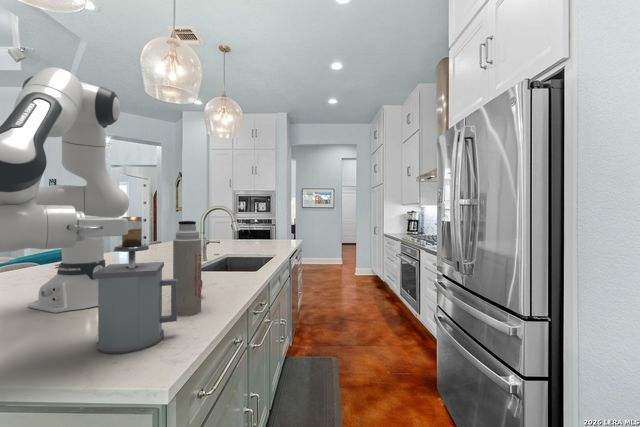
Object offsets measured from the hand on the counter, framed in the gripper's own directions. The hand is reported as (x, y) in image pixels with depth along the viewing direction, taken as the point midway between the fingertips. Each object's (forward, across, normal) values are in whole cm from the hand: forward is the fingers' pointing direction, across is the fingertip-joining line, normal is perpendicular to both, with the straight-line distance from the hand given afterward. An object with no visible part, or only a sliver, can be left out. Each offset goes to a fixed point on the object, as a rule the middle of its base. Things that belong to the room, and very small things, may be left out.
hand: (136, 224), depth 75 cm
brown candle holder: (-1, 0, +17) cm, 17 cm away
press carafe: (0, -1, +28) cm, 28 cm away
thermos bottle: (+18, +11, +28) cm, 35 cm away
